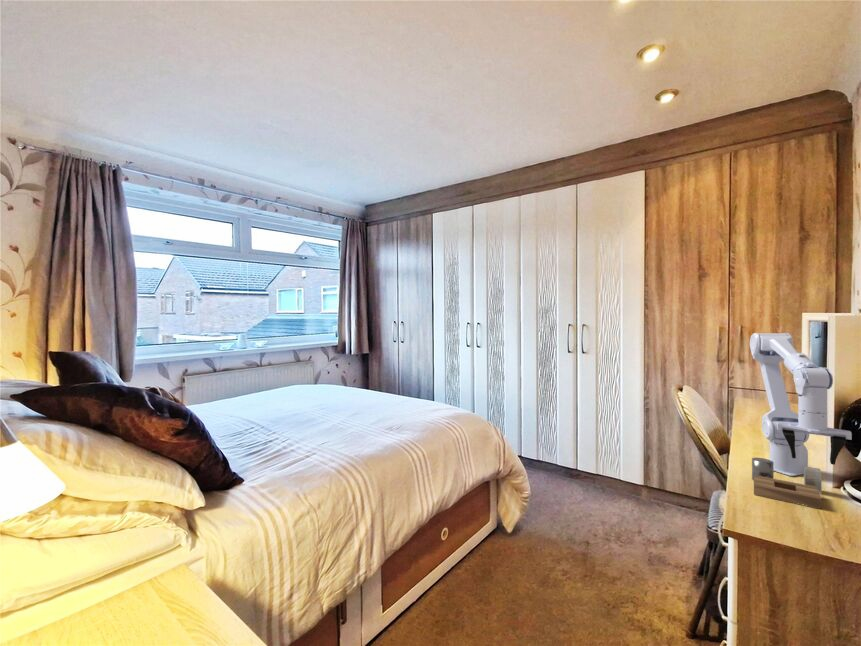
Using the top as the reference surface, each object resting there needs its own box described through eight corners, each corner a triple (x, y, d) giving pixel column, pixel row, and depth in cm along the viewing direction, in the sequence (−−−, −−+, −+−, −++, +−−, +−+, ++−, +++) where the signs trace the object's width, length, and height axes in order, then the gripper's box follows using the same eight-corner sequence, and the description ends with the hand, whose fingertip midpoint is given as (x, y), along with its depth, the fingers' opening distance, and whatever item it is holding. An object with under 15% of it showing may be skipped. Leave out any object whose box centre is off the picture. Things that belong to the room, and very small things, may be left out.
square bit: (803, 487, 109) (803, 466, 109) (819, 490, 107) (819, 468, 107) (805, 491, 107) (805, 469, 107) (821, 494, 105) (821, 472, 105)
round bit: (752, 476, 117) (752, 456, 117) (773, 480, 114) (773, 460, 114) (752, 481, 114) (752, 461, 113) (773, 485, 110) (773, 464, 110)
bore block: (753, 483, 112) (753, 474, 112) (816, 496, 104) (816, 487, 104) (753, 494, 105) (753, 485, 105) (821, 509, 97) (821, 499, 97)
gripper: (778, 410, 108) (778, 458, 109) (854, 418, 99) (854, 471, 99) (776, 405, 114) (776, 451, 114) (848, 413, 105) (848, 463, 105)
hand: (812, 460), depth 107 cm, fingers open, 7 cm apart
